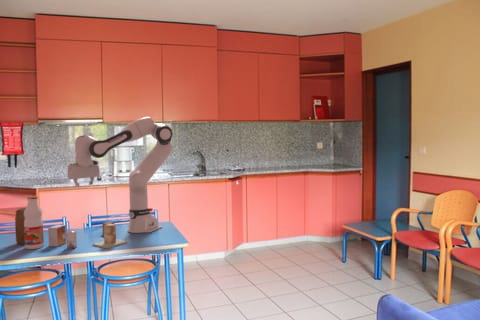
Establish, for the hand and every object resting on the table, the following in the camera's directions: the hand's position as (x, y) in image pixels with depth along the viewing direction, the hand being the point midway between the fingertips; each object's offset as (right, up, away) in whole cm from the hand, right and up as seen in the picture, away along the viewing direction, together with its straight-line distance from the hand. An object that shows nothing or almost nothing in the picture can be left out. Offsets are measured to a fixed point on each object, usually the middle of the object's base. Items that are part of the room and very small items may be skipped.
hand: (84, 185), depth 249 cm
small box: (-9, -33, -16) cm, 37 cm away
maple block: (+21, -31, -16) cm, 41 cm away
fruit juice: (-20, -33, -21) cm, 44 cm away
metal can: (+2, -33, -23) cm, 40 cm away
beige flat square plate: (+21, -32, -16) cm, 41 cm away
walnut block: (+12, -31, +9) cm, 34 cm away
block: (-30, -32, -11) cm, 45 cm away
